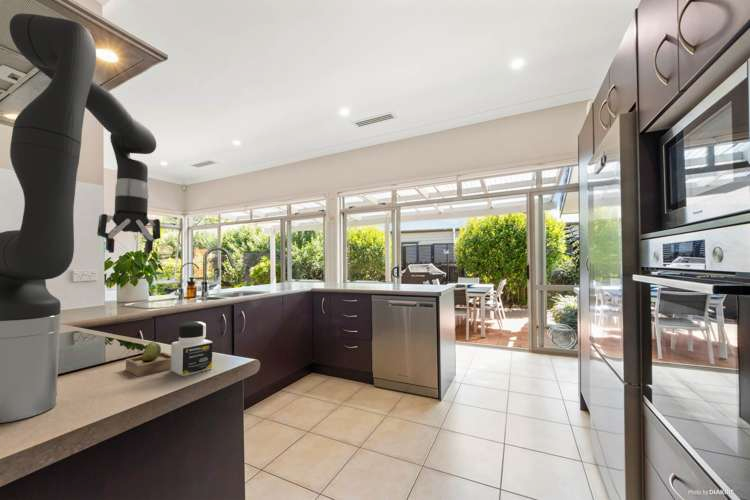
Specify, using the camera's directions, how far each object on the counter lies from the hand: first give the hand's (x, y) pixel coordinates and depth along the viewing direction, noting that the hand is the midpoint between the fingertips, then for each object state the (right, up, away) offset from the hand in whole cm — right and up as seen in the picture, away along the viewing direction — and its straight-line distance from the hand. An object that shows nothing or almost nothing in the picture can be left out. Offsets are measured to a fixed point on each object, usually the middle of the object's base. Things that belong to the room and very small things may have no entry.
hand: (129, 253), depth 92 cm
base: (+12, -30, -9) cm, 33 cm away
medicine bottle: (+23, -30, -10) cm, 39 cm away
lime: (+12, -28, -9) cm, 32 cm away
